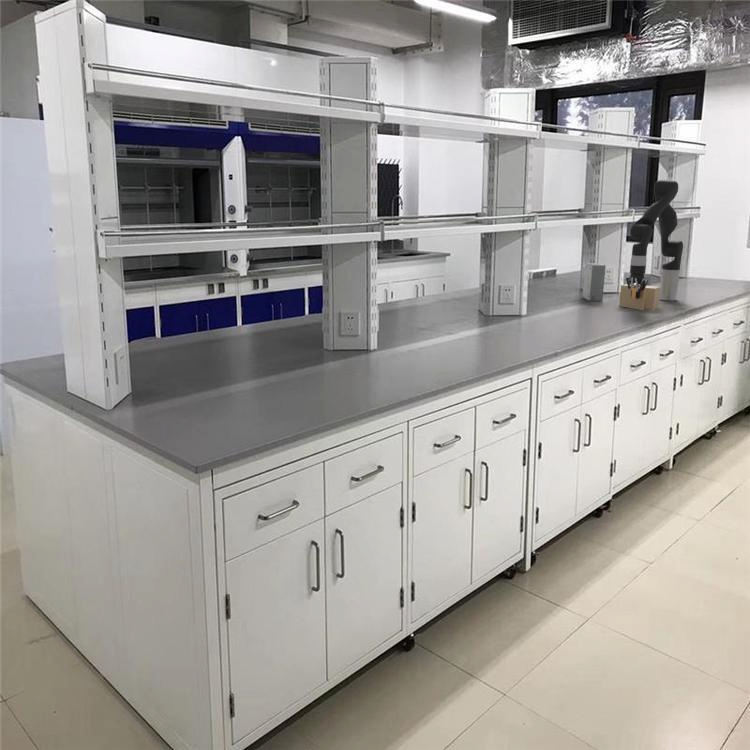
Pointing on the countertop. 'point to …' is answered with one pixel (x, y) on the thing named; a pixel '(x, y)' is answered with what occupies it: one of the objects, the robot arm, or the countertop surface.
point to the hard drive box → (593, 281)
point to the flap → (631, 298)
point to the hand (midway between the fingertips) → (635, 297)
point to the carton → (651, 297)
